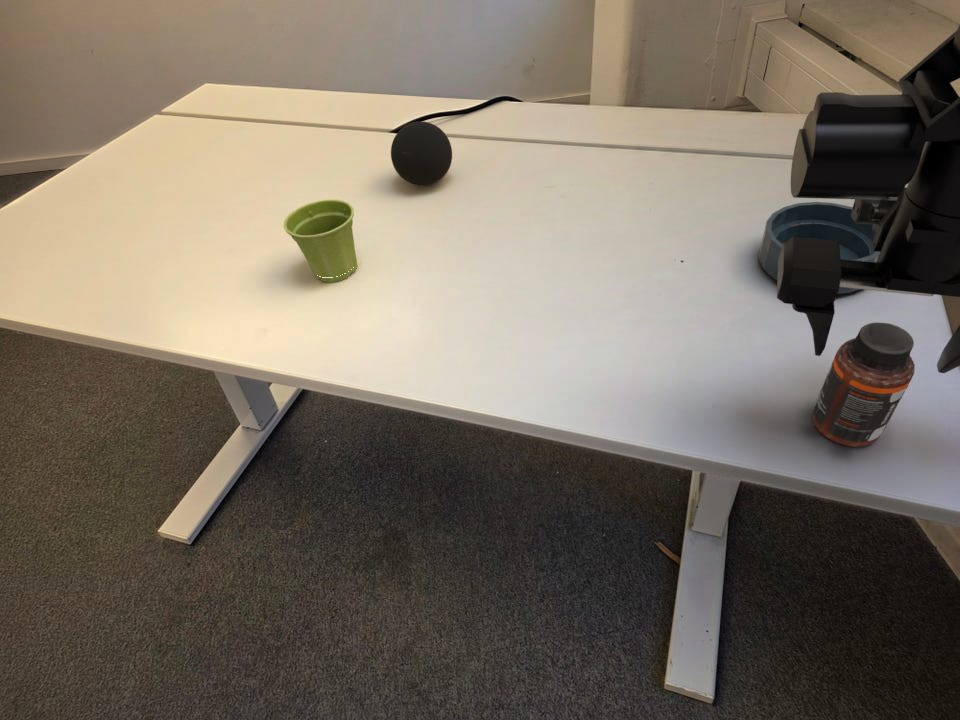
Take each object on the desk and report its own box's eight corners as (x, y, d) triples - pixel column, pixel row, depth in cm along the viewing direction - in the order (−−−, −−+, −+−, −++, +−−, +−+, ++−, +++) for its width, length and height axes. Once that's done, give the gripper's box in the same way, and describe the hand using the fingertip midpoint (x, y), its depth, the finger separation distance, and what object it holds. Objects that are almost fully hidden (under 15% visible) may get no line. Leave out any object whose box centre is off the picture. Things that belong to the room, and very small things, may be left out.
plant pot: (302, 260, 89) (282, 208, 83) (364, 245, 90) (349, 192, 84) (305, 297, 83) (284, 243, 77) (373, 280, 84) (357, 225, 78)
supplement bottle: (892, 448, 55) (944, 360, 48) (824, 451, 56) (864, 365, 48) (864, 399, 60) (907, 311, 52) (801, 403, 60) (834, 316, 52)
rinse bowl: (870, 240, 78) (884, 206, 74) (880, 305, 69) (896, 269, 66) (759, 231, 82) (767, 198, 78) (755, 290, 73) (764, 256, 70)
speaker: (402, 202, 98) (389, 143, 92) (394, 175, 106) (381, 118, 99) (461, 189, 99) (453, 129, 92) (449, 163, 107) (440, 106, 100)
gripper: (1089, 149, 43) (987, 315, 54) (801, 138, 49) (762, 290, 60) (1148, 234, 36) (1018, 406, 47) (803, 209, 42) (758, 368, 53)
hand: (876, 360), depth 52 cm, fingers open, 9 cm apart
